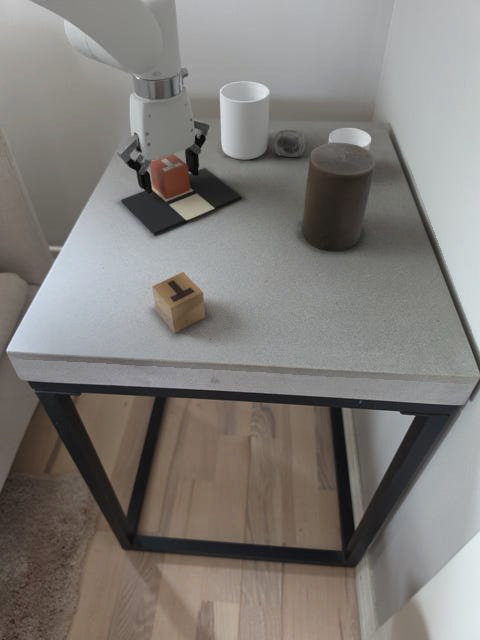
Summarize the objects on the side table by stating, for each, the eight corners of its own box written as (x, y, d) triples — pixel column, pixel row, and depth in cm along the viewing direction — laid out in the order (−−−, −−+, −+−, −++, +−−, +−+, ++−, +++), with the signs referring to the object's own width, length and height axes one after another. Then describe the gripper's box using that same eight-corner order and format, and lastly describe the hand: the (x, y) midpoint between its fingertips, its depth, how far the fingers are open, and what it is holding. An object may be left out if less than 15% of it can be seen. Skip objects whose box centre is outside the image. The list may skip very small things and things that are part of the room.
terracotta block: (153, 187, 89) (149, 162, 86) (176, 178, 91) (173, 153, 87) (166, 199, 87) (163, 174, 83) (190, 190, 88) (188, 165, 85)
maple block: (174, 333, 66) (170, 307, 62) (156, 311, 69) (151, 286, 65) (205, 317, 68) (203, 291, 64) (186, 297, 71) (183, 271, 67)
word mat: (155, 236, 80) (155, 233, 80) (120, 201, 87) (119, 198, 87) (242, 199, 88) (242, 196, 87) (203, 169, 95) (203, 166, 94)
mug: (218, 160, 97) (216, 101, 88) (225, 131, 105) (224, 75, 96) (265, 162, 96) (268, 103, 88) (269, 133, 104) (271, 77, 96)
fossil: (272, 158, 97) (273, 135, 94) (272, 150, 100) (273, 126, 96) (304, 159, 97) (307, 135, 93) (303, 150, 99) (305, 126, 96)
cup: (365, 162, 96) (372, 129, 91) (363, 189, 90) (370, 156, 85) (326, 158, 97) (330, 125, 92) (321, 185, 91) (326, 151, 86)
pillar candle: (318, 257, 77) (331, 172, 66) (291, 223, 83) (299, 140, 72) (371, 243, 79) (392, 158, 68) (341, 210, 85) (356, 128, 74)
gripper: (192, 63, 81) (198, 158, 93) (96, 89, 74) (117, 187, 86) (217, 77, 76) (221, 174, 89) (118, 106, 70) (137, 207, 82)
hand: (170, 181), depth 88 cm, fingers open, 9 cm apart
